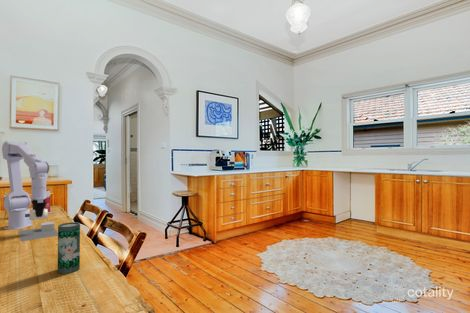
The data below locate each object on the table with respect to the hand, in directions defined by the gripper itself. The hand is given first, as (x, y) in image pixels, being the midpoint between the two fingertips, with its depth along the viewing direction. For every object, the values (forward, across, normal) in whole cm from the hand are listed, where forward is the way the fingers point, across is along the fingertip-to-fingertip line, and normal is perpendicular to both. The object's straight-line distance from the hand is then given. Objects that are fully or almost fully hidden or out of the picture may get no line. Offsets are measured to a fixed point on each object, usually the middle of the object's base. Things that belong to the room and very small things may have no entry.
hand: (38, 215), depth 127 cm
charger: (+8, +5, -4) cm, 10 cm away
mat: (+9, 0, 0) cm, 9 cm away
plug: (+1, 0, 0) cm, 1 cm away
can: (+9, -54, -4) cm, 55 cm away
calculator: (+9, +48, -6) cm, 49 cm away
